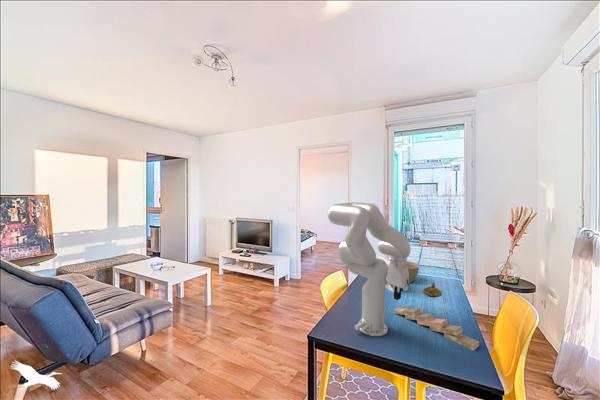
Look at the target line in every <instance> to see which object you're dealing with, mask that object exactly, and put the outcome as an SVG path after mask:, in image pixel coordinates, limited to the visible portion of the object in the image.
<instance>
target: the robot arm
mask: <svg viewBox="0 0 600 400" xmlns="http://www.w3.org/2000/svg"><path fill="white" fill-rule="evenodd" d="M327 218H328V220H329V222H330V223H331V224H333V225H335V226H343V227H347V228H348V227H349V231H348V233H347V234H346V236H345V239H344V240H342V241H341V242H340V243H339V245H338V250H337V251H338V257H339V258H340V261H341V262H342V263H343V265H344V266H345V267H346V269H348V271H349V272H350V273H352V274H354V275H356V276H360V277H363V278H364V279H366V281H365V282H364V284H363V285H362V289H361V291H362V293H361V318H360V319H359V321H358V323H357V324H355V325H354V329H355V330H356V331H357V330H359V331H360V332H361V333H363V334H365V335H367V336H371V337H383V336H385V335H386V334H387V333H388V328H389V327H388V326H387V324H386V323H385V303H386V302H385V301H386V299H385V298H386V287H385V283H386V282H387V283H388V284H389V285H390V286H391V287H392V288H393V291H394V292H393V299H394V300H396V301H399V300H401V298H402V292H403V291H404V292H405V291H406V292H407V291H409V286H410V285H409V284H410V283H409V272H408V267H407V261H408V260H407V259H408V258H409V256H410V254H411V249H412V248H411V245H410V242H409V241H408V239H407V237H406V235H404V234H403V233H402V232H401V231H400V230H398V229H397V228H395V227H393V226H392V225H390V224H388V222H387V221H386V218H385V217H384V216H383V213H382V212H381V210H380V209H379V207H378V206H377V205H375V204H374V203H370V202H369V203H368V202H356V201H355V202H354V201H353V202H344V203H334V204H332V205H331V206H330V208H329V209H328V211H327ZM367 232H369V233H370V235H371V236H372V237H373V238H375V239H377V240H378V241H379V242H378V243H377V250H378V251H379V252H380V254H382V255H386V256H390V257H388V260H389V261H390V263H389V265H387V263H386V262H385V261H384V260H382V259H380V258H376V256H377V253H376V251H375V249H374V247H373V246H372V244H371V242H370V240H369V239H368V237H367Z"/></svg>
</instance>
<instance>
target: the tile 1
mask: <svg viewBox="0 0 600 400" xmlns="http://www.w3.org/2000/svg"><path fill="white" fill-rule="evenodd" d="M404 318H405V320H413V321H417V320H419V321H427V322H428V321H430V320H432V319H433V318H435V317H434V313H426V312H421V313H420V314H418V315H416V316H410V315H404Z"/></svg>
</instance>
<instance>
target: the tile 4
mask: <svg viewBox="0 0 600 400" xmlns="http://www.w3.org/2000/svg"><path fill="white" fill-rule="evenodd" d="M443 337H444V338H446V339H448V340H450V341H452V342H455V343H457V344H459V345H460V346H463V347H465V348H467V349H469V350H471V351H475V350H476V349H477V348H478V347H479V346H480V341H478V340H477V339H473V338H471V337H469V336H467V335H465V334H463V333H460V334H458V335H452V334H447V333H443Z"/></svg>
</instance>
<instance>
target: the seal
mask: <svg viewBox="0 0 600 400" xmlns="http://www.w3.org/2000/svg"><path fill="white" fill-rule="evenodd" d="M422 290H423V291H422V292H423V294H424V295H426V296H427V297H428V298H429V297H430V298H438V297H441V296H442V291H441V290H440V289H439V288H437V287H436V285H435V282H432V283H431V286H429V287H425V288H423V289H422Z"/></svg>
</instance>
